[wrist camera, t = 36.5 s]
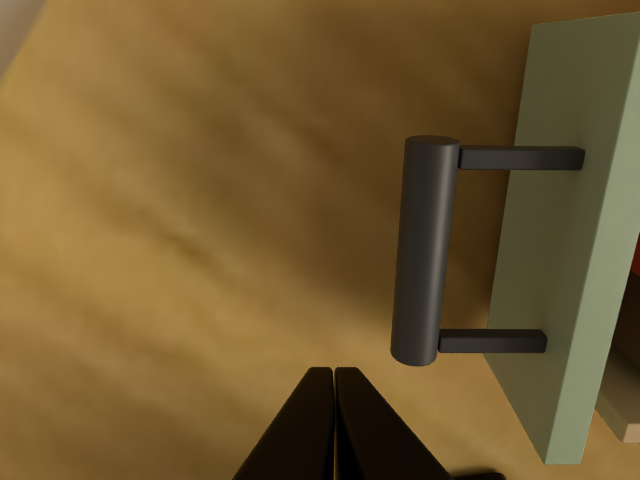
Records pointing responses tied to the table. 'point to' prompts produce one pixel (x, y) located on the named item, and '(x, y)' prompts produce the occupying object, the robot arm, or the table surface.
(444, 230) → the drawer
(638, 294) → the chocolate bar
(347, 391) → the robot arm
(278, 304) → the table surface
